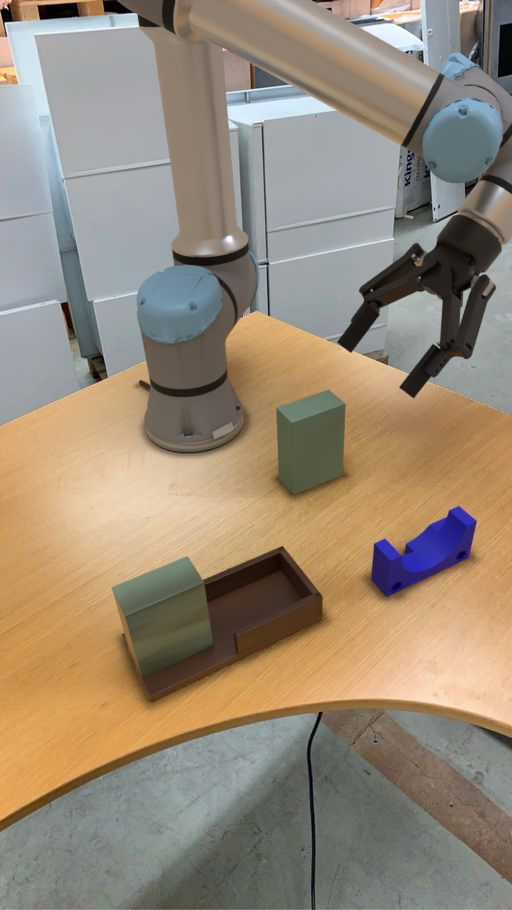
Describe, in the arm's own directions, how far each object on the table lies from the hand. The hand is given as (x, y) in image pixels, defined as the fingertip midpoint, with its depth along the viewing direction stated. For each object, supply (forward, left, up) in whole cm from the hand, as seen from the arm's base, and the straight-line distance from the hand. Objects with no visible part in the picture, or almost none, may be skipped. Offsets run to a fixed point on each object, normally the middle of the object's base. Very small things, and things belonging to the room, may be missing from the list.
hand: (373, 369), depth 85 cm
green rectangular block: (-3, -9, -14) cm, 17 cm away
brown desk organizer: (+8, -34, -14) cm, 38 cm away
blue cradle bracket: (+17, -12, -14) cm, 26 cm away
